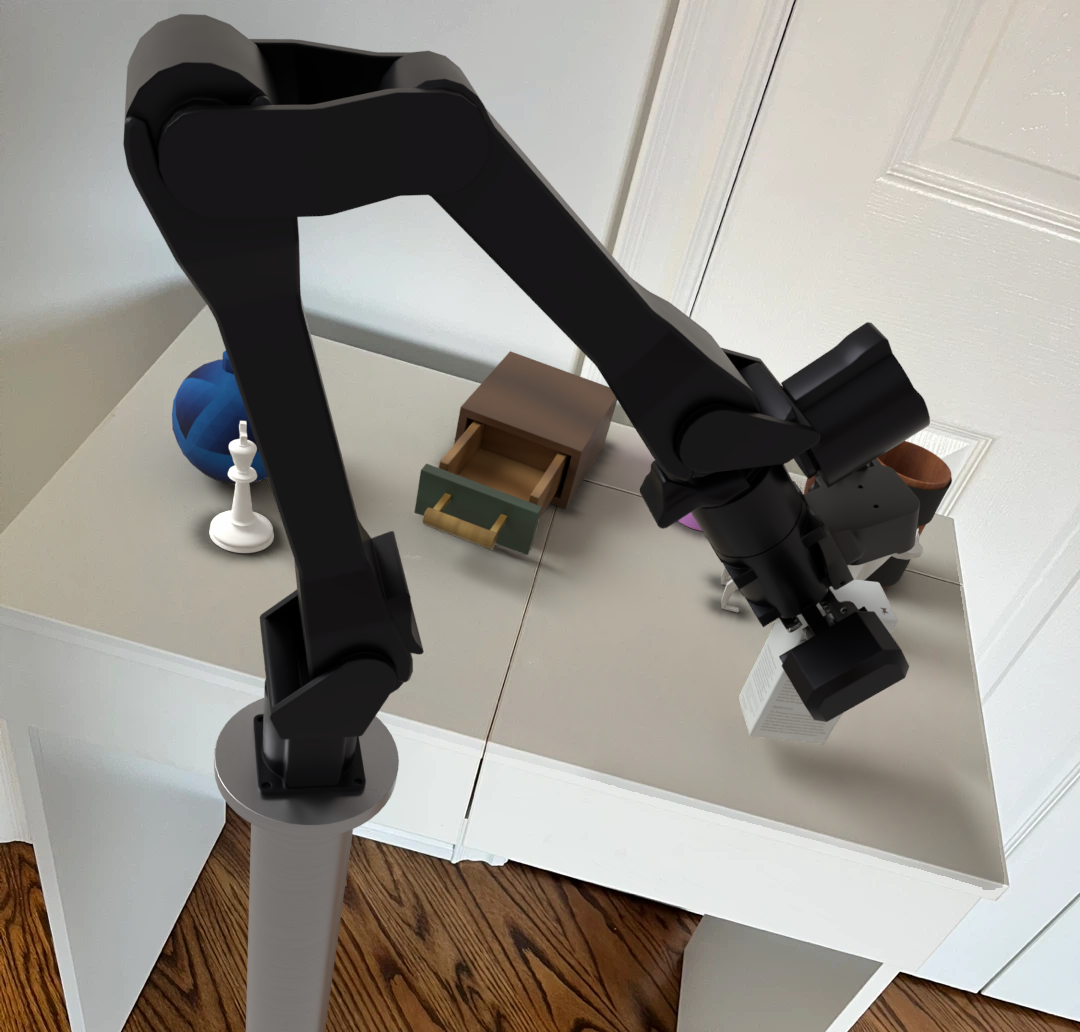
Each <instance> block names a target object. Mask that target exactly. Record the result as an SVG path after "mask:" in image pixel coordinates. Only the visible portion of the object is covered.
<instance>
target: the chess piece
mask: <svg viewBox="0 0 1080 1032" xmlns="http://www.w3.org/2000/svg"><path fill="white" fill-rule="evenodd" d="M239 431H240V439H236V440H233V441H231V442H230V444H229V450H230V453H231V455H232V458H233V461H234V464H235V466H232V467H231V468H230V469H229V471H228V476H229V478H230V479H231V480H233V481H235V482H236V484H234V493H233V500H232V504H231V505H232V506H231V509H229V510H225V511H223V512H220V513H218V514H217V515H215V516H214V517H213V518H212V520H211V522H210V525H209V537H210V539H211V541H212V542H213V543H214V544H215V545H216V546H217V547H219V548H221V549H223V550H225V551H228V552H232V553H236V554H253V553H257V552H260V551H263V550H265V549H267V548H268V547H270V546H271V545H272V543H273V542H274V539H275V538H274V537H275V533H274V528H273V524H272V523H271V521H270V520H269V519H268V518H267V517H266V516H264V515H262V514H261V513H258V512H256V511H254V510H253V505H252V496H251V495H252V494H251V488H250V487H251V486H250V484H251V483H250V482H253V481H255V480H256V478H257V473H256V471H255V470H254V469H253V468H252V467H250V466H251V464H252V461H253V458H254V456H255V454H256V451H257V447H256V445H255V444H254V443H253V442H252V441H250V440H247V432H246V431H247V424H246V421H240V424H239Z"/></svg>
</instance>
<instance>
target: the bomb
mask: <svg viewBox="0 0 1080 1032" xmlns="http://www.w3.org/2000/svg"><path fill="white" fill-rule="evenodd" d="M240 421H246V424H247V431H246V432H247V440H250V441H252V442H253V443H254V444H255V445H256V447H257V443H256V440H255V437H254V434H253V431H252V428H251V425H250V422H249V419H248V416H247V413H246V410H245V407H244V404H243V401H242V398H241V395H240V392H239V389H238V386H237V382H236V379H235V376H234V373H233V370H232V367H231V364H230V361H229V358H228V355H227V352H226V350H224V351H222V358H221V359H216V360H212V361H210V362H206V363H204V364H202V365H200V366H199V367H197V368H195V369H194V370H192V371H191V372H190V373H189V374H188V375H187V376H186V377H185V378H184V379H183V381H182V382H181V384H180V385H179V386H178V389H177V391H176V394H175V396H174V398H173V401H172V409H171V424H172V432H173V434H174V437H175V440H176V443H177V445H178V447H179V449H180V451H181V452H182V454H183V456H184V457H185V458H186V459H187V460H188V461H189V462H190V464H191V465H192V466H193V467H194V468H196V469H197V470H198V471H199V472H201V473H202V474H203V475H204V476H207V477H209V478H211V479H213V480H215V481H217V482H222V483H224V484H229V485H231V484H232V485H235V484H236V482H235V481H233V480H231V479H230V478H229V476H228V471H229V469H230V468H231V467H232V466H235V464H234V461H233V458H232V455H231V453H230V450H229V444H230V442H231V441H233V440H236V439H240V431H239V424H240ZM250 467H252V468H253V469H254V470H255V471H256V473H257V478H256V480H255V481H253V482H250V483H249V484H254V483H257V482H260V481H263V480H266V479H268V477H267V474H266V471H265V468H264V465H263V462H262V459H261V456H260V453H259V450H258V447H257V451H256V454H255V456H254V458H253V461H252V464H251V466H250Z"/></svg>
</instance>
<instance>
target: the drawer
mask: <svg viewBox="0 0 1080 1032" xmlns="http://www.w3.org/2000/svg"><path fill="white" fill-rule="evenodd" d="M569 457H570V455H567V454H564V453H562V452H559V451H556V450H554V449H551V448H548V447H545V446H543V445H540V444H537V443H535V442H532V441H529V440H526V439H524V438H521V437H518V436H516V435H513V434H510V433H508V432H505V431H502V430H499V429H497V428H494V427H491V426H489V425H486V424H483V423H480V422H478V421H475V420H474V421H473V423H472V424H471V425H470V426H469V427H468V429H467V430H466V431H465V432H464V433H463V435H462V436H461V437H460V438H459V439H458V440H457V442H456V443H455V444H454V443H453V445H452V446H451V447H450V449H449V450H448V451H447V452H446V453H445V455H443V457H441V459H440V460H439V465H438V467H437V466H434V465H432V464H429V463H425V464H424V465H423V466H422V468H421V469H420V472H419V481H418V487H417V492H416V494H417V495H416V500H415V506H414V507H415V508H414V514H417V515H419V516H422V524H423V525H425V526H428V527H431V528H433V529H435V530H439V531H441V532H443V533H447V534H449V535H452V536H454V537H457V538H460V539H462V540H465V541H466V542H467V541H468V542H470V543H472V544H475V545H478V546H481V547H483V548H485V549H489V550H493V549H495V546H496V545H499V546H501V547H504V548H507V549H510V550H512V551H515V552H517V553H519V554H522V555H525V556H528V555H529V554H530V552H531V550H532V549H533V546H534V545H533V544H534V540H535V537H536V534H537V529H538V527H539V521H540V520H541V518H542V516H543V514H544V513H545V511H546V510H547V508H548V506H549V505H550V504H551V503H550V502H551V500H552V498H553V497H554V495H555V494H556V492H557V490H558V489H559V487H560V486H561V484H562V482H563V480H564V476H565V472H566V468H567V465H568V461H569Z"/></svg>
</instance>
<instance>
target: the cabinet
mask: <svg viewBox="0 0 1080 1032" xmlns="http://www.w3.org/2000/svg"><path fill="white" fill-rule="evenodd" d="M617 403H618V400H617V399H616V397H615V395H614V394H613V392H612V390H611V389H610V387H609V386H608V385H605V384H602V383H599V382H597V381H594V380H590V379H588V378H585V377H583V376H580V375H577V374H574V373H572V372H569V371H566V370H564V369H560V368H558V367H556V366H552V365H549V364H547V363H544V362H541V361H538V360H535V359H533V358H530V357H528V356H525V355H522V354H519V353H516V352H514V351H512V350H510V351H509V352H507V354H506V355H505V356H504V357H503V359H502V360H501V361H500V362H499V363H498V364H497V365H496V367H495V368H494V369H493V370H492V371H491V372H490V373H489V374H488V375H487V377H486V378H485V379H484V380H483V381H482V382H481V383H480V384H479V385H478V387H477V388H476V389H475V390H474V391H473V392H472V394H470V396H469V397H468V398H467V399H466V400H465V401H464V402H463V404H461V406H460V409H459V415H458V419H457V425H456V429H455V431H456V432H455V437H454V443H453V445H454V444H455V443H456V442H457V440H458V439H459V438H460V437H461V436H462V435H463V433H464V432H465V431H466V430H467V429H468V427H469V426H470V425H471V424H472V423H473V421H474V420H475V421H478V422H480V423H483V424H486V425H489V426H491V427H494V428H497V429H499V430H502V431H505V432H508V433H510V434H513V435H516V436H518V437H521V438H524V439H526V440H529V441H532V442H535V443H537V444H540V445H543V446H545V447H548V448H551V449H554V450H556V451H559V452H562V453H564V454H567V455H570V457H569V461H568V465H567V468H566V472H565V476H564V480H563V482H562V484H561V486H560V487H559V489H558V490H557V492H556V494H555V495H554V497H553V498H552V500H551V502H550V503H549V504H552V505H555V506H557V507H560V508H563V509H565V510H566V509H567V508H568V506H569V505H570V503H571V501H572V500H573V498H574V496H575V495H576V493H577V492H578V490H579V488H580V486H581V485H582V483H583V481H584V479H586V476H587V474H588V473H589V472H590V470H591V468H592V467H593V465H594V463H595V461H596V460H597V458H598V456H599V454H600V452H601V451H602V449H603V448H604V446H605V443H606V439H607V436H608V434H609V429H610V428H611V427H610V426H611V423H612V419H613V416H614V413H615V410H616V406H617Z"/></svg>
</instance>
